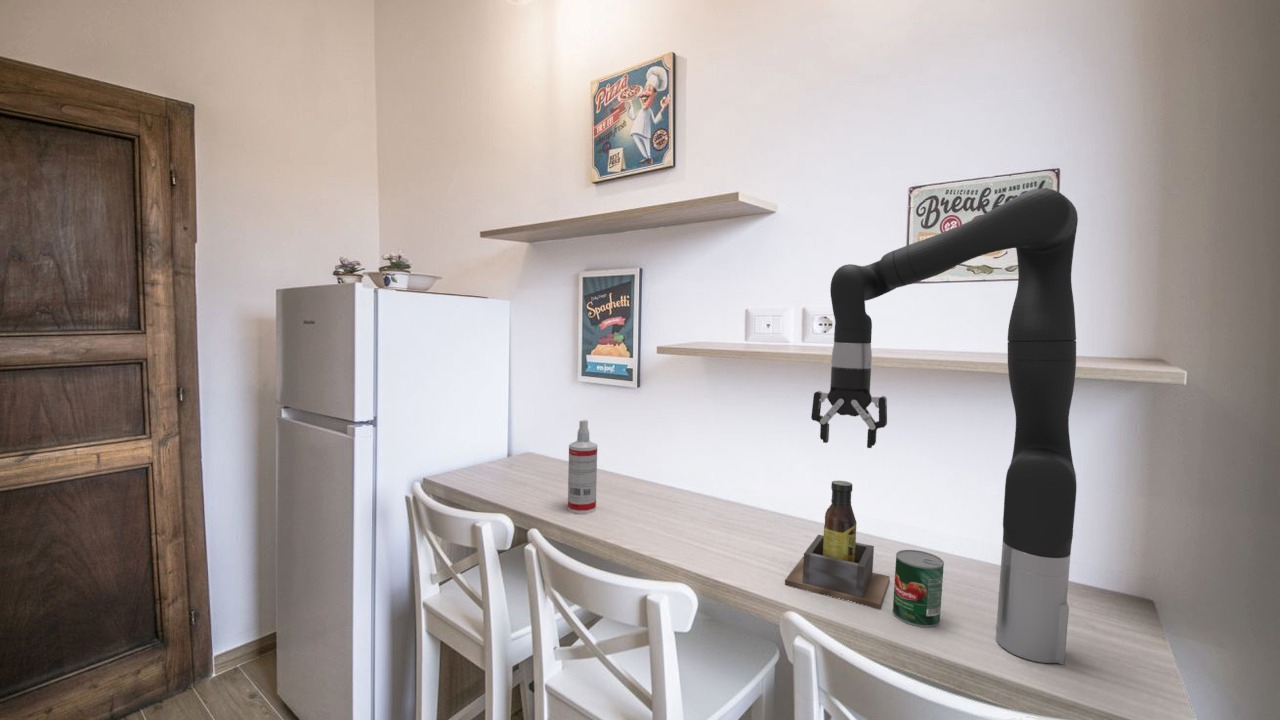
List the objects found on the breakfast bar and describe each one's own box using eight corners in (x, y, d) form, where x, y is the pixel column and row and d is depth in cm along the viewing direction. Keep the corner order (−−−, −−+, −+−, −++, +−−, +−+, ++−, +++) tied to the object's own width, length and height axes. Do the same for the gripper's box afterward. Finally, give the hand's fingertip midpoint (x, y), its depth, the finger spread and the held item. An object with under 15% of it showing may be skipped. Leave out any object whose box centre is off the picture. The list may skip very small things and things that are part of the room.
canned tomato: (886, 617, 104) (890, 558, 103) (899, 601, 110) (902, 545, 110) (934, 632, 99) (938, 571, 98) (944, 615, 105) (948, 557, 104)
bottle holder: (889, 581, 119) (891, 548, 118) (880, 609, 107) (882, 573, 106) (802, 560, 128) (804, 530, 127) (784, 584, 116) (786, 551, 115)
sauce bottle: (853, 587, 113) (858, 489, 112) (820, 581, 115) (825, 485, 114) (853, 574, 119) (858, 480, 118) (822, 568, 122) (827, 477, 120)
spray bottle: (592, 514, 154) (594, 423, 153) (565, 513, 155) (567, 422, 153) (597, 505, 162) (599, 418, 160) (571, 504, 163) (573, 417, 161)
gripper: (891, 366, 115) (887, 446, 116) (819, 362, 122) (815, 437, 123) (887, 368, 108) (882, 453, 109) (810, 364, 115) (807, 443, 116)
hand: (847, 444), depth 116 cm, fingers open, 8 cm apart
